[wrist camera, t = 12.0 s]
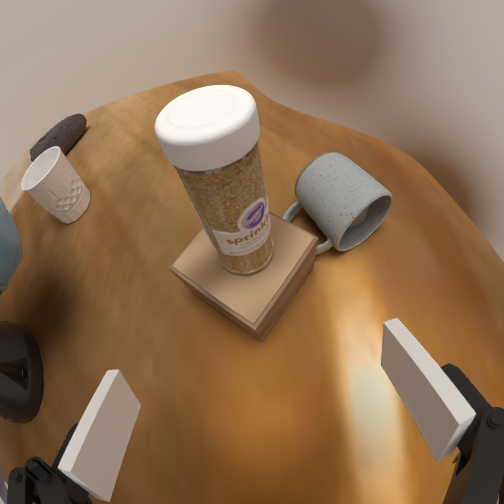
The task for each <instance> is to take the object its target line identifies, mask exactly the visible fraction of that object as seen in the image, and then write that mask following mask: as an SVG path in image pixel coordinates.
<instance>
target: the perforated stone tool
mask: <svg viewBox="0 0 504 504" xmlns="http://www.w3.org/2000/svg"><path fill="white" fill-rule="evenodd" d="M86 121H87V120H86V118H85V117H84V115H82V114H76V115H72V116H70V117H67V118H66V119H64V120H62V121H61V122H59V123H58V124H57V125H55V126H54V127H53V128H52V129H51V130H49V131H48V132H47V133H46V135H45V136H43V137H42V138H41V139H40V140H39V141H38V142H37V143H36V144H35V145H34V146H33V147H32V148H31V150H30V155H31V161H32V162H34V160H35V159H36V158H37V157H38V156H39V155H41V154H42V153H43V152H44V151H46V150H47V149H49V148H51V147H54V146H58V147H59V148H60V149H61V151H62V152H63V154H64V155H65V154H66V153H67V152H68V150H70V148H71V147H72V146H73V145H74V144H75V143H76V141H77V140H78V139H79V138H80V136H81V135H82V134H83V132H84V130H85V127H86Z"/></svg>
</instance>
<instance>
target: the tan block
mask: <svg viewBox="0 0 504 504" xmlns="http://www.w3.org/2000/svg"><path fill="white" fill-rule="evenodd" d="M269 215H270V223H271V229H270V231H271V237H272V239H273V242H274V251H273V256H272V258H271V260H270V262H269V264H267V265H266V266H265V267H264V268H262V269H261V270H259V271H257V272H256V273H253V274H246V275H243V274H235V273H232V272H230V271H228V270H227V269H226V268H225V267H224V266H223V264H222V263H221V262H220V259H219V256H218V252H217V250H216V248H215V247H214V246H213V245H212V243H211V242H210V240H209V238H208V236H207V234H206V232H205V230H204V228H202V229H201V230H200V231H199V232H198V234H197V235H196V236H195V237H194V238H193V239H192V241H191V242H190V243H189V244H188V245H187V247H186V248H185V249H184V250H183V251H182V253H181V254H180V255H179V256H178V257H177V259H176V260H175V261H174V262H173V264H172V265H171V266H170V267H169V269H170V270H171V271H172V272H173V273H174V274H175V275H176V276H177V277H178V278H179V279H180V280H181V281H182V282H183V283H184V284H185V285H186V286H187V287H188V288H189V289H190V290H191V291H192V292H193V293H194V294H196V295H197V296H198V297H200V298H201V299H202V300H204V301H205V302H207V303H208V304H209V305H211V306H212V307H213V308H215V309H216V310H218V311H219V312H220V313H222V314H223V315H224V316H226V317H227V318H229V319H230V320H231V321H233V322H234V323H236V324H237V325H239V326H240V327H241V328H243V329H244V330H246V331H247V332H249V333H250V334H252V335H253V336H255V337H256V338H258V339H259V340H261V341H263V340H264V339H265V337H266V336H267V334H268V333H269V332H270V330H271V329H272V327H273V326H274V325H275V323H276V322H277V320H278V319H279V317H280V316H281V315H282V313H283V312H284V310H285V309H286V307H287V306H288V304H289V303H290V301H291V300H292V299H293V297H294V296H295V294H296V293H297V291H298V290H299V288H300V287H301V285H302V284H303V282H304V281H305V279H306V278H307V276H308V275H309V273H310V271H311V270H312V268H313V266H314V261H315V256H316V250H317V244H318V239H319V238H318V237H316V236H314V235H312V234H311V233H309V232H307V231H305V230H303V229H301V228H299V227H297V226H296V225H294V224H292V223H290V222H288V221H286V220H284V219H282V218H280V217H278V216H277V215H275V214H273V213H271V212H269Z"/></svg>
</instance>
